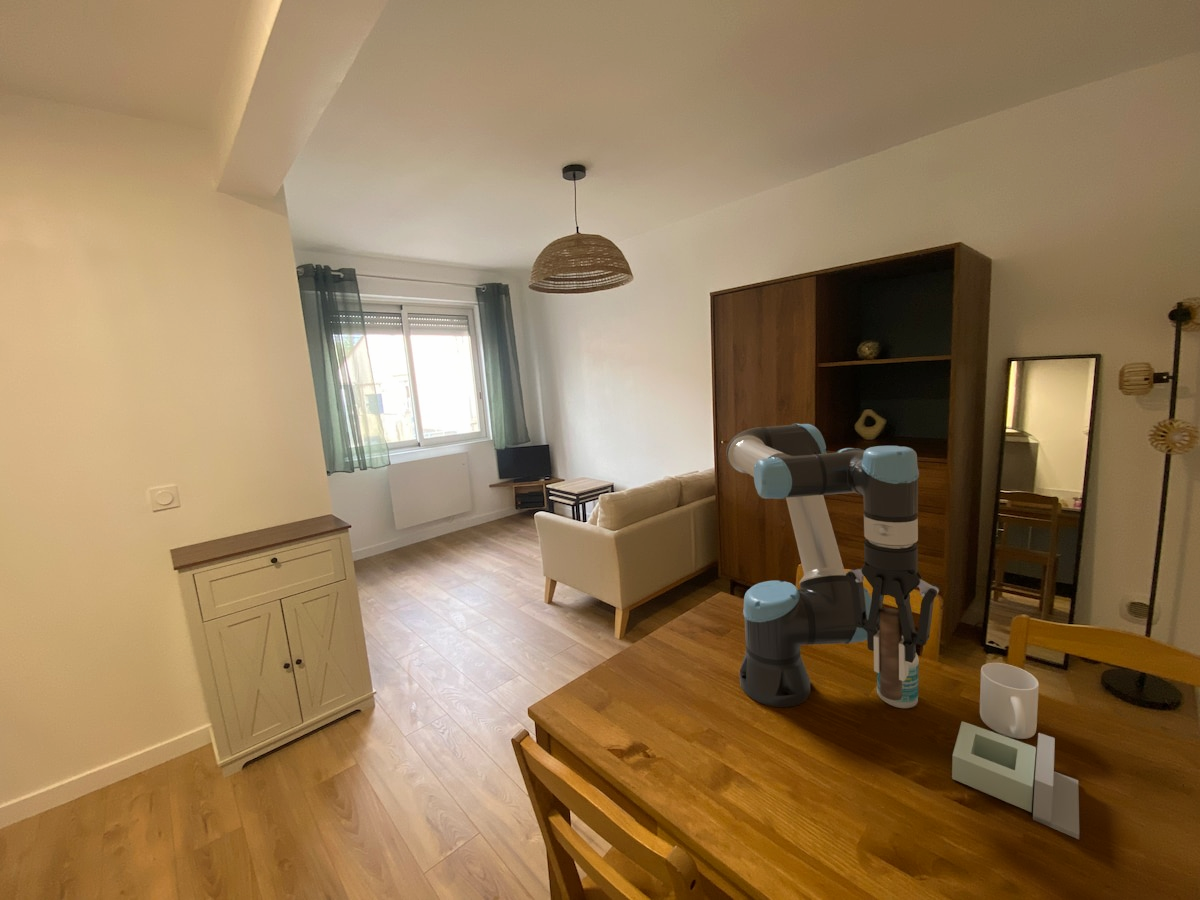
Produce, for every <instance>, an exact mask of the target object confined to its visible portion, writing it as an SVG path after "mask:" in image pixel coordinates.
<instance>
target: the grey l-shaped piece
mask: <svg viewBox="0 0 1200 900" xmlns="http://www.w3.org/2000/svg"><path fill="white" fill-rule="evenodd" d="M1055 739H1056V738H1055V737H1053V736H1049V735H1047V734H1044V733H1041V732H1038V734H1037V745H1036V757H1035V775H1034V787H1033V804H1032V820H1033V821H1035V822H1038V823H1040V824H1042V825H1045V826H1047V827H1049V828H1052V829H1054V830H1057V831H1058V832H1060V833H1063V834H1065V835H1068V836H1070V837H1071V838H1075V839H1076V840H1080V801H1079V800H1080V798H1079V780H1078V779H1076V778H1073V777H1070V776H1068V775H1064V774H1062V773H1059V772H1056V771H1054V770H1055V769H1054V768H1055V747H1056V746H1055V745H1056V744H1055V742H1056V741H1055Z"/></svg>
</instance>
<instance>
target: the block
mask: <svg viewBox="0 0 1200 900" xmlns="http://www.w3.org/2000/svg"><path fill="white" fill-rule="evenodd" d="M951 757H952V758H951V759H952V761H951V762H952V764H951V768H952V769H951V774H952V775H951V779H952V780H955V781H956V782H959V783H961V784H964V785H967V786H968V787H971V788H973V789H975V790H978V791H979V792H982V793H985V794H986V795H989V796H991V797H994V798H995V799H996V798H997V799H999V800H1001V801H1004V802H1005V803H1007V804H1011V805H1013V806H1015V807H1018V808H1020V809H1023V810H1025V811H1027V812H1029V813H1032V814H1033V801H1034V785H1035V771H1036V758H1037V746H1033V745H1031V744H1029V743H1025V742H1023V741H1020V740H1018V739H1015V738H1011V737H1007V736H1004V735H1002V734H1000V733H998V732H995V731H991V730H988V729H986V728H983V727H980V726H978V725H974V724H971V723H968V722H965V721H963V720H962V721H961V723H960V727H959V730H958V735H957V737H956V741H955V745H954V749H953V751H952V756H951Z"/></svg>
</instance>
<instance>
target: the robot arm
mask: <svg viewBox="0 0 1200 900" xmlns="http://www.w3.org/2000/svg"><path fill="white" fill-rule="evenodd" d="M826 449H827V446H826V442H825V439H824V437H823V435H822V432H821V431H820V430H819V428H817V427H816V426H815V425H813V424H810V423H792V424H786V425H785V424H784V425H775V426H772V425H771V426H762V427H761V426H759V427H753V428H749V429H745V430H742V431H741V432H739V433H737V434H736V435H734V437H732V438H731V440H730V441H729V442H728V444H727V446H726V450H725V451H726V452H725V453H726V459H727V462H728V464H729V465H730V466H731V467H732V468H733V469H734V470H736V471H737V472H739V473H741V474H748V475H749V476H751V477H753V483H754V486H755V487H754V488H755V489H756V492H757V495H758V496H759V497H760V498H761V499H765V500H766V499H776V500H782V499H785V501H786V503H787V508H788V513H789V516H790V520H791V525H792V529H793V532H794V537H795V541H796V542H795V543H796V545H797V549H798V555H799V558H800V562H801V567H802V571H803V576H802V577H801V579H800V580H799V589H798V587H797V586H795V585H794V584H793V583H791V582H788V581H785V580H784V581H781V580H775V579H774V580H767V581H762V582H758V583H756V584H754V585H752V586H751V587H750V588H749V589H747V590H746V592H745V594H744V597H743V611H742V614H743V616H744V618H743V619H744V633H745V634H744V637H745V653H744V656H743V658H742V662H741V665H740V668H739V686H740V687H741V689H742V691H743V692H744V693H745V694H746V695H747V696H748V697H749V698H751V699H752V700H754V701H756V702H758V703H760V704H763V705H766V706H770V707H775V708H788V707H794V706H797V705H800V704H802V703H804V702H806V700H807V699H808V698H809V696H810V694H811V681H810V679H811V678H810V676H809V674H808V671H807V668H806V667H805V664H804V661H803V658H802V656H801V655H802V654H801V646H806V645H807V646H808V645H809V646H810V645H828V644H829V645H830V644H846V645H848V644H849V645H850V644H852V643H860V642H861V643H862V642H866V641H867V649H868V650H869V651H872V652H873V672H875V673H877V672H878V673H879V672H880V629H879V628H880V621H879V610H880V609H882V608H883V604H884V601H885V596H889V597H891V598H894V601H895V605H896V606H897V610H898V612H899V617H900V622H901V628H902V636H903V638H902V640H901V641H900V642H899V680H901V681H905V679H906V677H907V676H908V674H909V662H911V663H912V662H913V660H914V659H915V657H916V654H917V652H916V649H917V647H916V645H920V646H922V647H923V646H926V644H927V642H928V641H929V639H930V632H931V627H932V617H933V608H934V601H935V598H936V597H937V595H938V594H939V592H940V590H941V589H940V587H939V585H937V584H930V583H928V582H927V581H925V580H923V579H922V575H921V574H920V572H919V567H918V565H919V563H918V562H919V560H918V559H919V549H918V548H919V546H918V544H917V542H918V541H919V539H918V538H919V525H918V523H919V522H918V521H919V519H918V513H919V477H920V470H919V467H918V455H917V452H916V450H914V449H913V448H912V447H908V446H899V445H877V446H875V445H874V446H869V447H868V448H866V449H865V450H864V449H861V448H855V447H845V448H842V449H839V450H837V451H836V452H831V453H830V452H829V453H827V450H826ZM853 493H854V494H857V495H860V496H862V498H863V535H864V538H865V540H864V541H863V549H864V551H863V553H864V554H863V556H864V558H863V559H864V563H863V565H862V566H861V568H855V567H854V568H851V569H850V570H849V571H846V570H845V567H844V564H843V561H842V557H841V554H840V549H839V546H838V543H837V539H836V536H835V533H834V529H833V525H832V522H831V519H830V515H829V511H828V508H827V505H826V504H827V503H826V500H825V497H824V496H829V495H839V494H840V495H841V494H853ZM864 580H866V581H867V582H868V583H869V585H870V587H871V588H872V592H871V593H870V592H869V590H868V589H867V588H866V587H865V586H864V582H863V581H864ZM916 588H919V595H920V596H921V597H923V598H922V600H921V602H920V609H919V610H920V611H919V620H918V628H917V632H916V627H915V622H914V617H913V610H912V605H911V600H910V599H911V593H912V592H913V591H914V590H915V589H916Z"/></svg>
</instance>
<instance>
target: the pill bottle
mask: <svg viewBox="0 0 1200 900" xmlns="http://www.w3.org/2000/svg"><path fill="white" fill-rule="evenodd" d="M902 638H903V635H902ZM918 655H919V654H918V653H916V657H915V659H914V660H913V662H912V663H911V662H909V674H908V676H907V677H906V679H905V681H902V698H901V699H900V700H890V699H887V698H885V697H884V696H882V695H881V693H880V672H879V673H878V672H876V693H877V695H878V696H879V698H880V699H881V700H882V701H883V702H885V703H887V704H888V705H890V706H892V707H895V708H900V709H910V708H911V709H912V708H914V707H915V706H917V704H918V701H919V673H920V672H919V669H920V668H919V666H920V665H919V664H920V663H919V662H920V660H919V656H918Z"/></svg>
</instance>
